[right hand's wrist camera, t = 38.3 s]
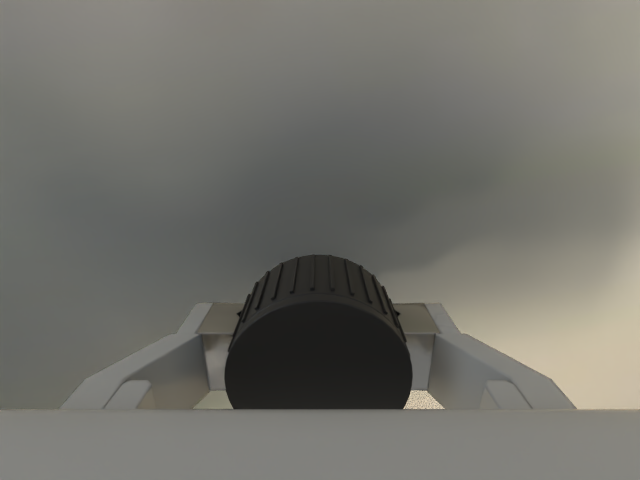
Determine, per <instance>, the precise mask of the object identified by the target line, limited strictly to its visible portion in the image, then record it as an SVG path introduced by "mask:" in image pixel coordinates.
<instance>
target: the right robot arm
mask: <svg viewBox="0 0 640 480" xmlns="http://www.w3.org/2000/svg"><path fill="white" fill-rule="evenodd" d="M244 304H245V303H197V304H195V306H194V307H193V309H192V310H191V312H190V313H189V315H188V316H187V318H186V319H185V321H184V322H183V324H182V325H181V327H180V328H179V330H178V331H177V333H176V334H169V335H167V336H165V337H163V338H162V339H160V340H158V341H156V342H154V343H152V344H150V345H148V346H146V347H144V348H143V349H141V350H139V351H137V352H135V353H133V354H131V355H129V356H127V357H126V358H124V359H122V360H120V361H118V362H116V363H114V364H112V365H110V366H108V367H107V368H105V369H103V370H101V371H99V372H97V373H95V374H93V375H91V376H90V377H88V378H86V379H85V380H84V381H83V382H82V383H81V384H80V385H79V386H78V387H77V389H76V390H75V391H74V392H73V393H72V394H71V395H70V396H69V398H68V399H67V400H66V401H65V402H64V403H63V404H62V405H61V406H60V408H59V409H0V480H640V409H577V408H576V407H575V406H574V405H573V403H572V402H571V401H570V400H569V399H568V398H567V397H566V395H565V394H564V393H563V392H562V391H561V390H560V389H559V387H558V386H557V385H556V384H555V383H554V382H553V381H552V379H550V378H548V377H546V376H544V375H543V374H541V373H539V372H537V371H535V370H533V369H531V368H529V367H528V366H526V365H524V364H522V363H520V362H518V361H516V360H514V359H513V358H511V357H509V356H507V355H505V354H503V353H501V352H499V351H498V350H496V349H494V348H492V347H490V346H488V345H486V344H485V343H483V342H481V341H479V340H477V339H475V338H473V337H471V336H470V335H468V334H461V333H460V331H459V330H458V328H457V327H456V325H455V324H454V322H453V321H452V319H451V318H450V316H449V315H448V313H447V312H446V310H445V309H444V307H443V306H442V304H441V303H439V302H438V303H404V304H393V307H394V309H395V312H396V314H397V317H398V319H399V322H400V325H401V327H402V330H403V332H404V335H405V337H406V340H407V342H405V343H406V345H407V348H408V350H409V353H410V359H411V363H412V371H413V379H412V387H411V390H427V391H428V393H429V394H430V395H431V396H432V397H433V398H434V399H436V400H437V401H438V402H439V403H440V404H441V405H442V406H443V407H444V408H445V409H192V408H193V407H194V406H195V405H196V404H197V403H198V402H199V401H201V400H202V399H203V398H204V397H205V396H206V395H207V394H208V393H209V390H226V388H225V381H224V369H225V364H226V359H227V356H228V353H229V352H227V351H228V347H229V345H230V342H231V340H232V335H233V333H234V330H235V328H236V325H237V322H238V320H239V317H240V315H241V312H242V310H243V307H244Z"/></svg>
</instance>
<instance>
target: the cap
mask: <svg viewBox="0 0 640 480" xmlns="http://www.w3.org/2000/svg"><path fill="white" fill-rule="evenodd" d="M405 342H407V340H406V337H405V335H404V332H403V330H402V327H401V325H400V322H399V319H398V317H397V314H396V312H395V309H394V307H393V304H392V302H391V299H389V298H388V295H387V292H386V290H385V287H384V286H381V285H380V283H379V282H378V281H377V280H376V277H375V276H374V275H371V274H370V273H369V272H368V271H367V270H365V269H364V268H363V267H362V266H361V265H360V266H359V265H357V264H355V263H353V262H351V261H348V259H343V258H339V257H334V256H332V255H329V256H327V255H309V256H303V257H296V258H295V259H291V260H289V261H286V262H284V263H280V264H279V265H278V266H277V267H275V268H273V269H272V270H271V271H267V272H266V275H265V276H264V277H263V278H262V279H261V280H260V281H259V282H256V283H255V286H254V289H253V291H252V293H251V294H248V297H247V299H246V302H245V304H244V307H243V310H242V312H241V315H240V317H239V320H238V322H237V325H236V328H235V330H234V333H233V335H232V340H231V342H230V345H229V347H228V351H227V352H229V353H228V356H227V359H226V364H225V369H224V381H225V388H226V392H227V395H228V398H229V401H230V403H231V405H232V407H233V409H403V408H404V406H405V405H406V402H407V400H408V398H409V395H410V391H411V387H412V379H413V371H412V363H411V359H410V353H409V350H408V348H407V345H406V343H405Z"/></svg>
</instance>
